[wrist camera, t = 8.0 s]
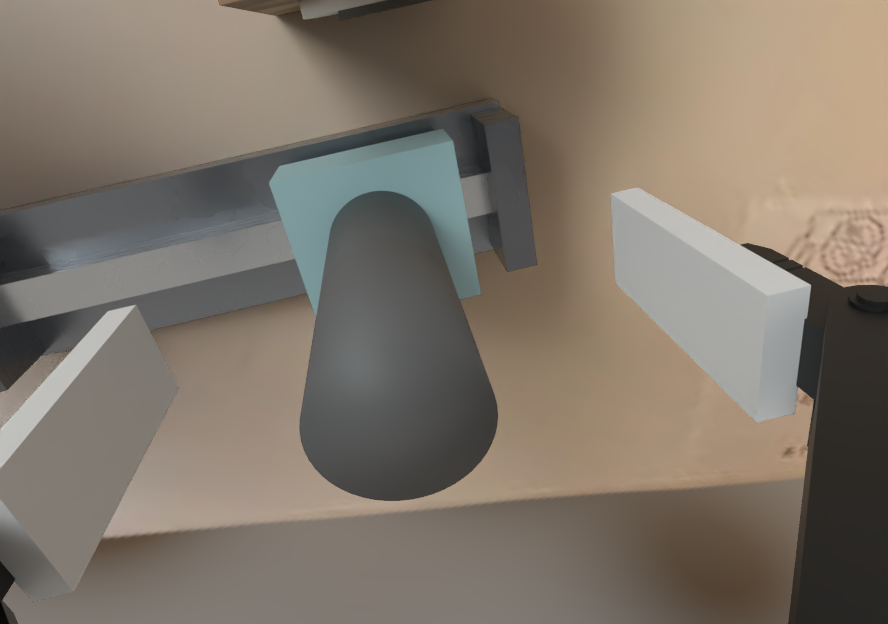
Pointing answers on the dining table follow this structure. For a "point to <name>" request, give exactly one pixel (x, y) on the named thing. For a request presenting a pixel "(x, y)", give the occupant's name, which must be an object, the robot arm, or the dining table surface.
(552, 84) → the dining table surface
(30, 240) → the rail track
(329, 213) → the carriage
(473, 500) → the dining table surface
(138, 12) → the dining table surface
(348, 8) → the open wooden box
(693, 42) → the dining table surface
